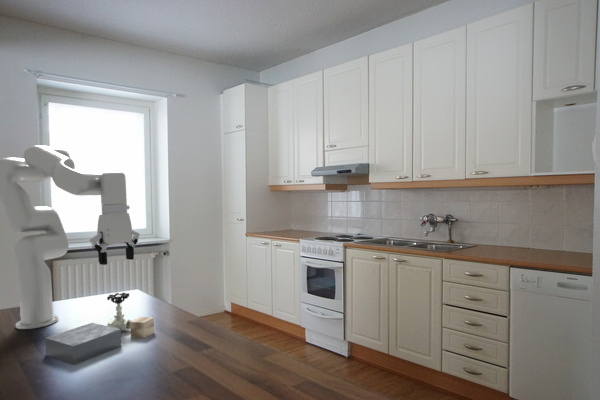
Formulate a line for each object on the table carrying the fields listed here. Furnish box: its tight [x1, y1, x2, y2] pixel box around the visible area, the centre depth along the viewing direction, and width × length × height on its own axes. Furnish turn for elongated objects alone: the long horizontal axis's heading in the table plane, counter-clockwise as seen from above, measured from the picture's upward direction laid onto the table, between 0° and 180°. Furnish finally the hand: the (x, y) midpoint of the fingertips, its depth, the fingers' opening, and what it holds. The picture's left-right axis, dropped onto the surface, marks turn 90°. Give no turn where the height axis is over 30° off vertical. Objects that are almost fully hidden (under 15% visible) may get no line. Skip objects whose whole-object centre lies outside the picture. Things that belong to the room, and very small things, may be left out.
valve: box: [106, 292, 132, 332], centre depth 129 cm, size 7×7×12 cm
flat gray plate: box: [44, 322, 122, 366], centre depth 113 cm, size 14×14×5 cm
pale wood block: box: [129, 316, 155, 339], centre depth 125 cm, size 5×5×5 cm
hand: (117, 261), depth 128 cm, fingers open, 9 cm apart
